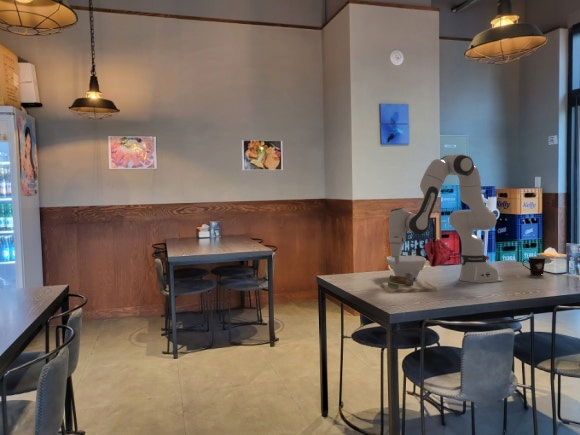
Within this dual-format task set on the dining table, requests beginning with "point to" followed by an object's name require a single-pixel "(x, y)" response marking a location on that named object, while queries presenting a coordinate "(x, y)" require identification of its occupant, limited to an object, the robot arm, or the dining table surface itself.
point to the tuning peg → (403, 279)
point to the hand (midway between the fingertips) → (397, 264)
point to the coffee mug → (536, 265)
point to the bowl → (406, 265)
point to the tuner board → (408, 287)
